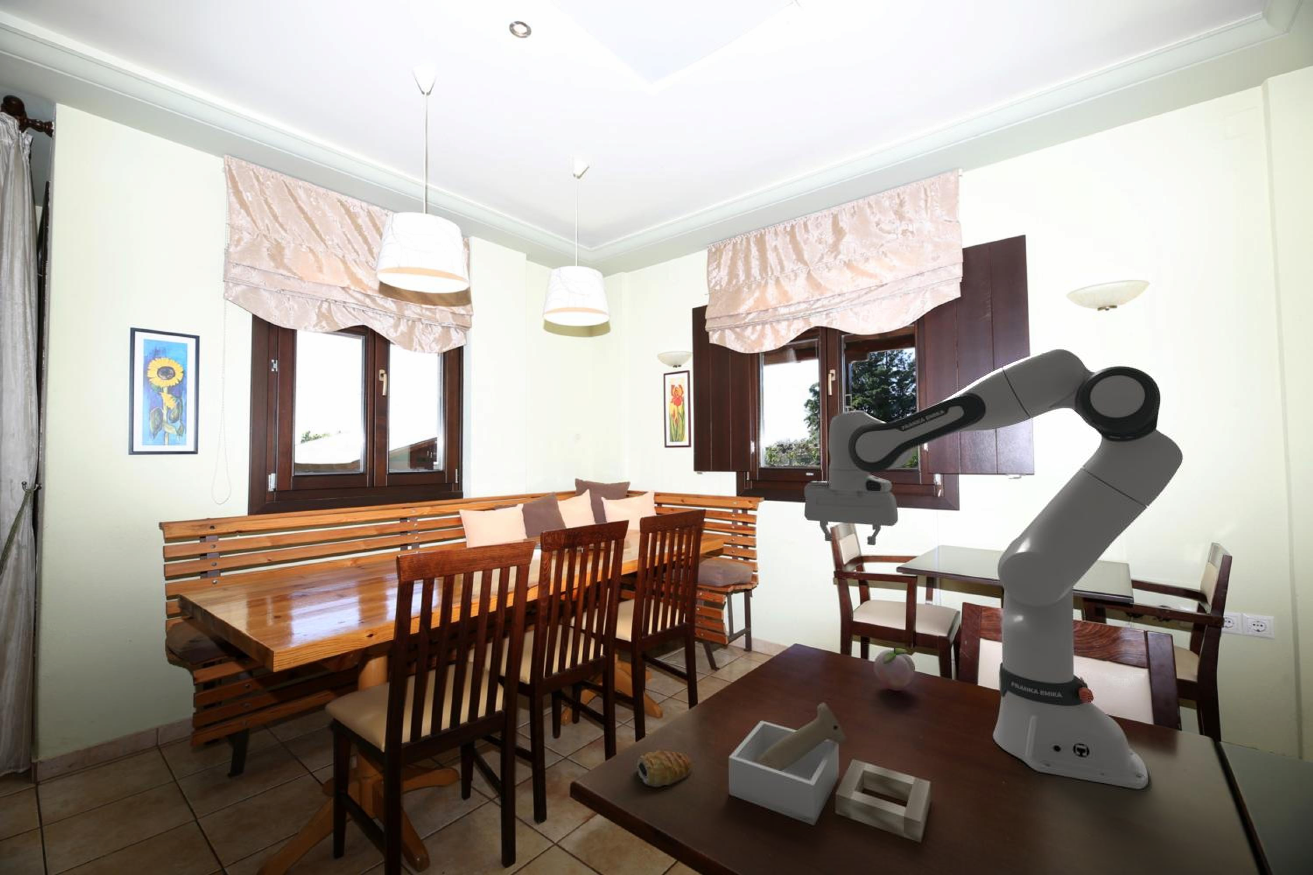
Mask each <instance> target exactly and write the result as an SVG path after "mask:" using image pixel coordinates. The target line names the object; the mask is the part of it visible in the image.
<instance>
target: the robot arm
mask: <svg viewBox="0 0 1313 875" xmlns="http://www.w3.org/2000/svg"><path fill="white" fill-rule="evenodd" d="M1160 407H1161V391H1160V388H1159V386H1158V384H1157V382H1156V380H1154V378H1153V377H1152V376H1151V375H1149V374H1148V373H1146V372H1145V371H1143V370H1142V369H1139V368H1135V367H1132V366H1131V367H1130V366H1126V365H1125V366H1122V365H1117V366H1110V367H1106V368H1102V369H1100V370H1097V371H1091V370H1090V369H1088V368H1087V366H1085V364H1084V362H1083V361H1082V359H1081V358H1080V357H1078V355H1076V354H1075V353H1073V352H1072V351H1069V350H1068V349H1063V348H1058V349H1051V350H1046V351H1042V352H1041V353H1037V354H1034V355H1030V356H1028V357H1025V358H1024V357H1023V358H1022V359H1019V360H1017V361H1014V362H1012V363H1009V364H1007V365H1005V366H1003V367H1000V368H998V369H996V370H994V371H991V372H990V373H988V374H987V375H984V376H982V377H980V378H979V379H977V380H975V381H974V382H972V383H971V384H969V385H967V386H966V387H964V388H963V389H961V390H959V391H958V392H956V393H954V394H953V395H951V396H949V397H947V398H945V399H944V400H942V401H940V402H938V403H935V404H933V405H931V406H929V407H926V408H924V409H922V410H919V411H916V412H914V413H912V414H909V415H907V416H904V417H903V418H900V419H897V420H894V421H891V422H886V421H882V420H880V419H877V418H876V417H873V416H871V415H870V414H868V413H867V412H866V411H864V410H858V409H857V410H850V411H844V412H840V413H838V414H835V415H834V416H833V417H832V419H831V421H830V425H829V432H828V452H829V456H830V463H829V466H828V481H827V480H826V481H824V480H823V481H817V480H812V481H810V482H807V483H806V484H805V486H804V488H803V489H804V493H803V494H804V498H805V503H804V511H803V512H804V513H803V515H804V518H805V519H806V520H807V521H813V522H814V521H815V522H819V527H820V529H821V530H822V532H823V534H824V541H825V542H834V533H833V532H830V531H829V528H828V527H827V526H828V525H829V523H839V524H841V523H842V524H856V525H870V526H871V527H872V531H874V532H873V533H872V534H871V535H868V536H867V537H866V540H867V542H866V544H867V545H868V546H875V545H876V544H877V543H876V542H877V541H876V540H877V538H876V537H877V536H878V534H879V533H880V531H881V529H882V526H885V527H894V525H896V524H897V523H898V520H899V514H898V512H899V511H898V505H897V499H896V497H895V495H894V494H893V493H892V492H891V490H892V487H893V484H892V482H891V481H890V480H887V479H884V478H880V477H878V476H875V475H872V474H871V473H873V474H874V473H881V472H883V471H885V470H891V469H896V468H901V467H902V466H905V465H906V464H907V463H909V462H910V461H911V460H912V459H913V458H914V456H915V453H916V448H918V447H920V446H923V445H925V444H928V443H931V442H933V441H935V440H938V439H940V438H943V437H945V436H949V435H953V434H956V433H962V432H963V433H965V432H971V431H972V432H973V431H990V430H997V429H1002V428H1006V427H1009V426H1013V425H1017V424H1020V423H1023V422H1026V421H1028V420H1030V419H1033V418H1036V417H1038V416H1041V415H1043V414H1045V413H1049V412H1051V411H1056V410H1059V409H1071V410H1073V412H1075V413H1076V414H1077V415H1078V416H1080V417H1081V419H1082V420H1083V421H1084V423H1086V424H1087V425H1088V426H1089V427H1091V428H1093V429H1095V430H1096V431H1097V432H1098V433H1099V435H1101V439H1100V440H1101V441H1100V444H1099V446H1098V448H1097V449H1096V450H1095V452H1094V453H1093V454H1092V456H1091V457H1089V459H1088V460H1087V461H1086V462H1085V463H1083V465H1082V466H1081V467H1080V468H1079V469H1078V470H1077V471H1076V473H1075V474H1074V475H1073V476H1072V477H1070V479H1069V480H1068V481H1067V482H1066V484H1064V485H1063V487H1062V488H1060V489H1059V491H1058V492H1057V493H1056V494H1055V496H1054V497H1053V498H1051V500H1050V501H1049V502H1048V503H1047V504H1046V506H1045V507H1044V508H1043V509H1042V510H1041V511H1040V512H1039V513H1038V515H1037V516H1035V518H1033V520H1032V521H1031V522H1030V524H1029V525H1028V526H1027V527H1026V528H1025V529H1024V530H1022V532H1021V534H1020V535H1019V536H1017V537H1016V538H1015V539H1014V540H1012V541H1011V543H1009V545H1008V546H1007V548H1006V549H1005V550H1004V552H1003V553H1002V554H1001V556H1000V558H999V560H998V563H997V576H998V580H999V582H1000V584H1001V586H1002V588H1003V590H1004V591H1003V592H1004V593H1003V603H1002V605H1003V608H1002V620H1001V653H1002V654H1001V656H1002V658H1001V663H1000V664H999V670H998V685H999V692H1000V695H1001V696H1000V697H1001V698H1000V706H999V712H998V718H997V722H996V725H995V728H994V731H993V733H992V738H993V739H994V741H995V743H996V744H998V746H1000V747H1001V748H1002V749H1003V750H1004V751H1006V752H1007V753H1009V754H1011V755H1013V756H1015V757H1017V758H1018V759H1020V760H1021V761H1023V762H1024V763H1026V764H1027V765H1028V766H1029V767H1030V768H1031V769H1033V770H1035V771H1036V772H1040V773H1044V774H1046V773H1047V774H1052V775H1055V776H1056V775H1057V776H1061V777H1062V776H1063V777H1067V778H1073V779H1080V780H1085V781H1090V782H1096V783H1100V784H1101V783H1103V784H1108V785H1113V786H1119V787H1125V788H1128V789H1129V788H1130V789H1136V790H1141V789H1143V788H1145V787H1146V786H1147V785H1148V783H1149V774H1148V769H1147V766H1146V764H1145V763H1144V761H1143V759H1142V758H1141V757H1140V756H1139V755H1138V754H1137V752H1135V751H1134V750H1132V749H1131V748H1130V746H1129V742H1128V739H1127V737H1126V734H1125V732H1124V730H1123V729H1122V728H1121V726H1120V725H1119V724H1118V723H1117V721H1116V720H1114V718H1112V717H1110V716H1109V715H1108V714H1107V713H1105V712H1104V711H1103V710H1101V709H1100V708H1099V707H1098V706H1097V705H1096V704H1094V703H1093V701H1094V699H1095V697H1094V694H1093V691H1092V690H1091V689H1090V688H1089V685H1088V684H1087V682H1085V680H1084V678H1083V677H1082V676H1080V678H1079V677H1078V676H1077V675H1075V674H1074V673H1075V672H1074V671H1075V670H1074V666H1075V664H1074V662H1075V660H1074V659H1075V658H1074V586H1076V585H1077V583H1078V582H1080V580H1081V579H1082V578H1083V577H1084V576H1085V574H1086V573H1088V572H1089V570H1090V569H1091V568H1092V567H1093V565H1094V564H1095V563H1096V562H1097V561H1098V560H1099V559H1100V558H1101V556H1102V555H1103V554H1104V553H1105V552H1106V551H1107V549H1108V548H1109V547H1110V546H1111V545H1112V543H1113V542H1114V541H1115V540H1116V539H1117V538H1118V537H1119V536H1121V535H1122V533H1123V532H1124V531H1126V529H1128V527H1129V526H1130V525H1131V524H1132V523H1134V522H1135V520H1136V519H1138V517H1140V516H1141V514H1142V513H1143V512H1145V510H1147V509H1148V507H1150V505H1151V504H1152V503H1153V502H1154V501H1155V500H1156V499H1158V497H1159V496H1160V495H1161V493H1162V492H1163V491H1164V490H1165V488H1166V487H1167V486H1168V485H1169V483H1170V482H1171V480H1172V479H1173V478H1174V476H1175V475H1176V474H1177V472H1178V469H1179V468H1180V466H1181V465H1182V463H1183V460H1184V458H1183V457H1184V456H1183V451H1182V450H1181V449H1180V446H1178V443H1176V442H1175V441H1174V440H1173V439H1172V438H1170V437H1168V435H1165V434H1164V433H1162V431H1161V432H1160V431H1159V430H1158V429H1157V427H1158V422H1159V421H1158V420H1159V411H1160V409H1161V408H1160Z"/></svg>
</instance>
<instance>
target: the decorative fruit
mask: <svg viewBox="0 0 1313 875" xmlns="http://www.w3.org/2000/svg"><path fill="white" fill-rule="evenodd" d="M873 669H874V672H875V676H876V677H877V678H878V680H879V681H880V682H881V683H882V684H883V685H884V686H886V687H887V688H888V689H890V690H892V691H894V692H897V691H901V690H903V689H904V688H906V687H907V686H908V685H909V684H910V683H911V682H912V681H913V678H914V675H915V672H916V666H915V663H914V660H913V659H912V658H911V656H910V655H908V651H907V650H906V649H904V648H900V647H898V648H897V647H896V646H894V647H893V649H888V650H886V649H885V650H883V651H882V652H880V653H879V654H877V656H876V657H875V659H874V663H873Z"/></svg>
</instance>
